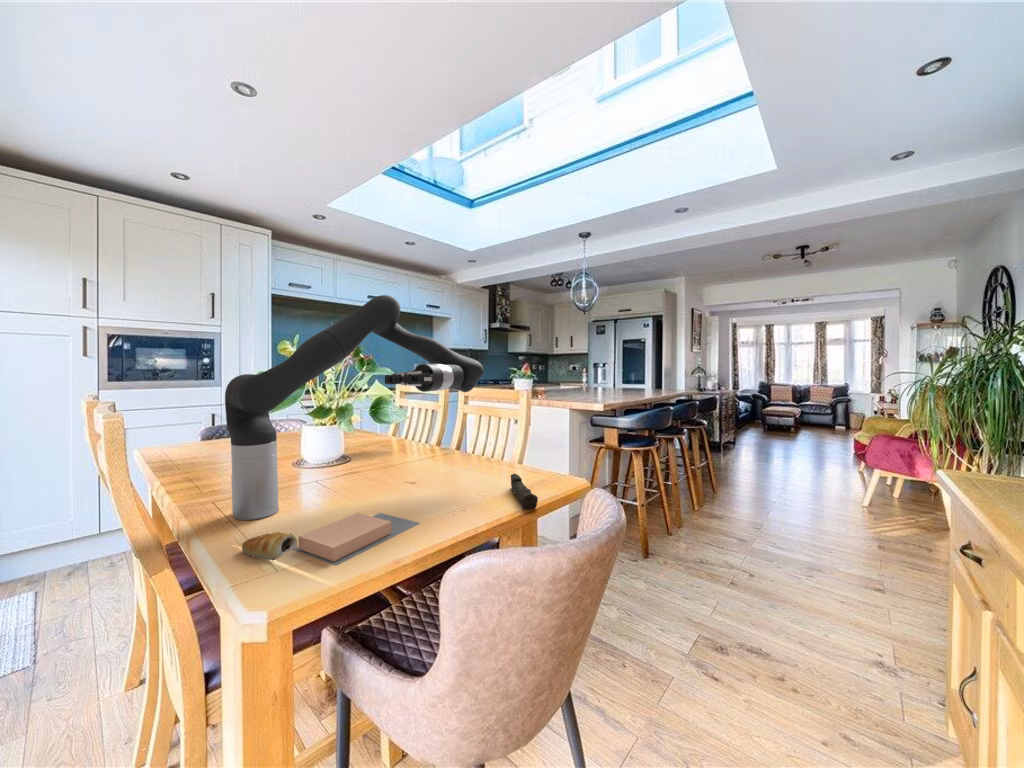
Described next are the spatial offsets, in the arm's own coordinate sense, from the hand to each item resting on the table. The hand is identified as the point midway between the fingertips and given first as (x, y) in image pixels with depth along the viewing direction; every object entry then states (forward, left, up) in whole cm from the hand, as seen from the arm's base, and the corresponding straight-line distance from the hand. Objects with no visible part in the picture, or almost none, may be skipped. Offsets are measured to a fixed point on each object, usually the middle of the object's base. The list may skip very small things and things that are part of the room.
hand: (387, 379), depth 100 cm
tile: (+7, -11, -30) cm, 33 cm away
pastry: (-3, -27, -32) cm, 43 cm away
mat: (+7, -14, -32) cm, 36 cm away
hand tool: (+23, +24, -32) cm, 47 cm away
